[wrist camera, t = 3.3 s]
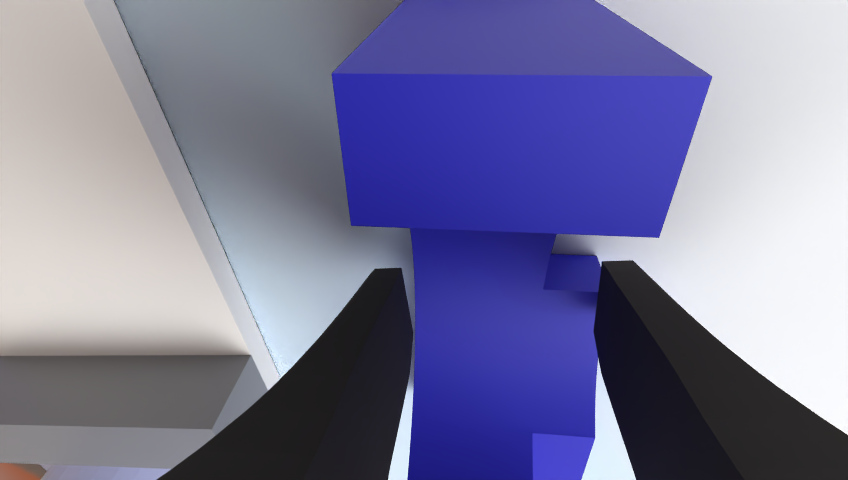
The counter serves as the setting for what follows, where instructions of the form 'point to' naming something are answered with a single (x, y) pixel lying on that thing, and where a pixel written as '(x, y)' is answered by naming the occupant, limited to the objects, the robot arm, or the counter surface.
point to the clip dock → (107, 259)
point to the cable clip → (510, 207)
